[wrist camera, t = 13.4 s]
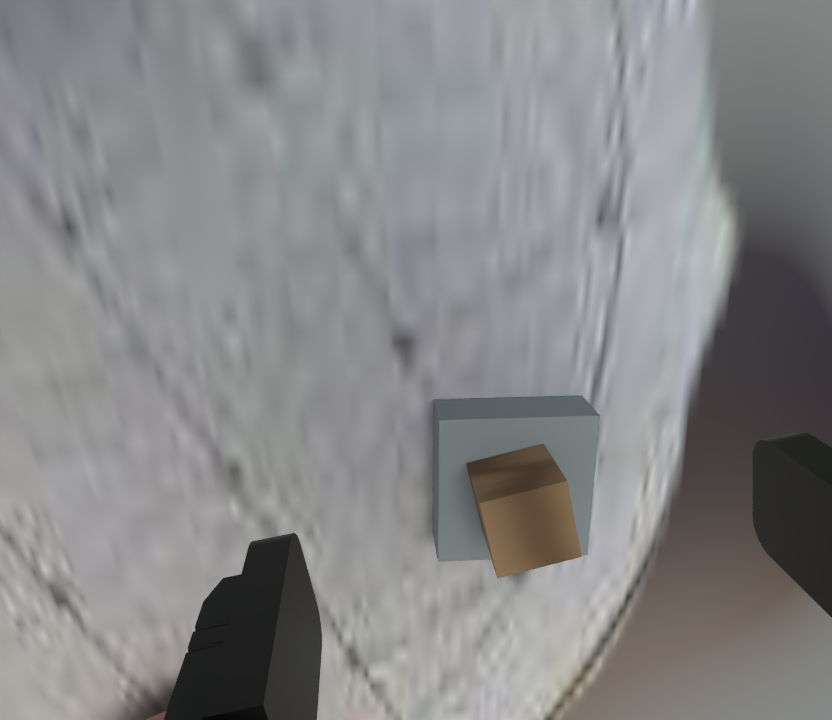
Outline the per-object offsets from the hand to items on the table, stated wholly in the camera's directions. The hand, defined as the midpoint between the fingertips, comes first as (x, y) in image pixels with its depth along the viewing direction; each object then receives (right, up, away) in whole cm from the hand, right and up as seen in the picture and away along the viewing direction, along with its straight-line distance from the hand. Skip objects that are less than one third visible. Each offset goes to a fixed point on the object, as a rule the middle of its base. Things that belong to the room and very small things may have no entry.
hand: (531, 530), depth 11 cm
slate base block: (+4, -4, +34) cm, 34 cm away
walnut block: (+4, -5, +30) cm, 30 cm away
